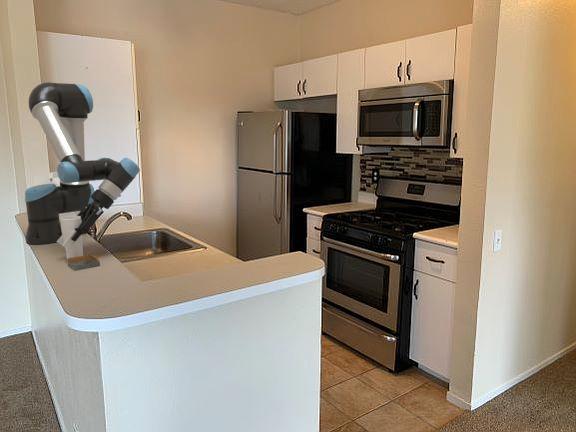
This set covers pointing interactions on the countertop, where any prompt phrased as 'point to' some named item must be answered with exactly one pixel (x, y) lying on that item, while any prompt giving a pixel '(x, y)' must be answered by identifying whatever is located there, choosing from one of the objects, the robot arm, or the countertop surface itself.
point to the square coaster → (83, 262)
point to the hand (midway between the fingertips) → (62, 245)
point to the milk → (55, 180)
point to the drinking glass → (67, 229)
